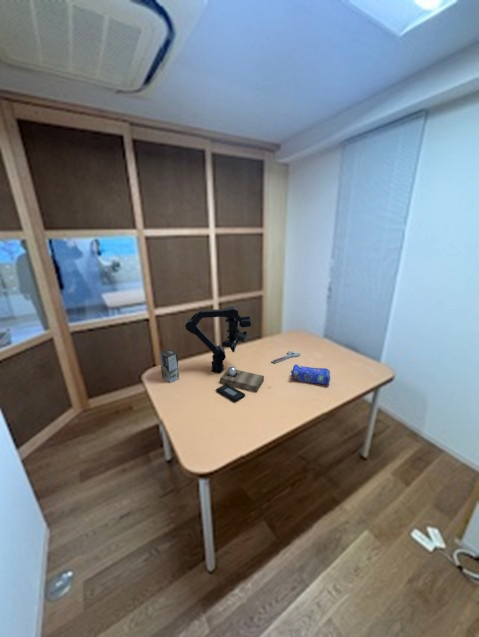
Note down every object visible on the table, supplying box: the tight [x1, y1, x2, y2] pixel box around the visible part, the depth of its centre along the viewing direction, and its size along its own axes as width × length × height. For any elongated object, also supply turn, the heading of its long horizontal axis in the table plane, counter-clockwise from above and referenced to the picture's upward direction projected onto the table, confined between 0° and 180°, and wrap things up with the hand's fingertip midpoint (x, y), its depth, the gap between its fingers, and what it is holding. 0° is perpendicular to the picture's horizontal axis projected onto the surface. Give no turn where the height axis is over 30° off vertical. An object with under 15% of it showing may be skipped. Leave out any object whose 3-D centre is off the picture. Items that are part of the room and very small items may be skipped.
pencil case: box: [290, 363, 331, 386], centre depth 148 cm, size 22×9×10 cm, turn 74°
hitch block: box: [219, 368, 265, 393], centre depth 147 cm, size 22×12×4 cm, turn 67°
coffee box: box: [159, 349, 180, 384], centre depth 148 cm, size 9×6×16 cm
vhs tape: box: [215, 384, 246, 404], centre depth 136 cm, size 8×14×2 cm, turn 47°
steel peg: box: [228, 365, 237, 378], centre depth 148 cm, size 4×4×8 cm
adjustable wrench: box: [270, 350, 301, 364], centre depth 178 cm, size 8×26×2 cm, turn 121°
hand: (233, 351), depth 157 cm, fingers closed
